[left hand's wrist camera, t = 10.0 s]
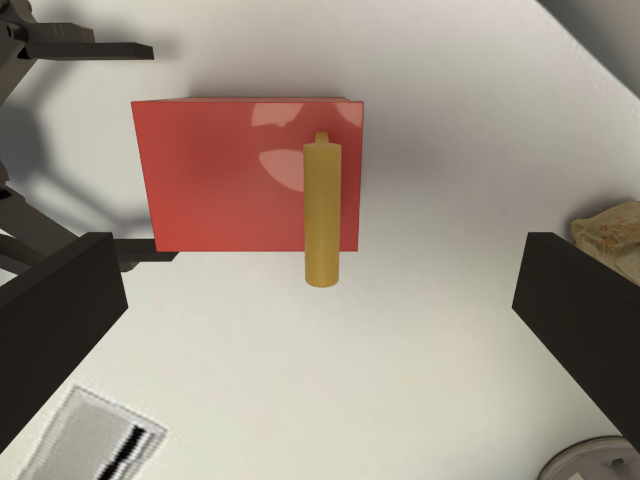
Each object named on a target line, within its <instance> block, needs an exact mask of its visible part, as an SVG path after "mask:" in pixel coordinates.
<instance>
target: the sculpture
mask: <svg viewBox="0 0 640 480" xmlns="http://www.w3.org/2000/svg"><path fill="white" fill-rule="evenodd" d="M571 235H572V236H573V237H574V238H575V240H576V241H574V242H573V243H572V245H574V246H575V247H577V248H578V249H580V250H582V251H583V252H585V253H586V254H588V255H590V256H591V257H593V258H595V259H596V260H598V261H599V262H601V263H603V264H604V265H606V266H607V267H609V268H611V269H612V270H614V271H615V272H617V273H619V274H620V275H622V276H623V277H625V278H627V279H628V280H630V281H632V282H633V283H635V284H636V285H638V286H640V201H633V202H626V203H622V204H619V205H616V206H614V207H611V208H609V209H607V210H605V211H603V212H601V213H599V214H598V215H596V216H594V217H591V218H587V219H582V218H578V219H576V220H574V221H572V222H571Z"/></svg>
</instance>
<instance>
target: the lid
mask: <svg viewBox="0 0 640 480" xmlns="http://www.w3.org/2000/svg"><path fill="white" fill-rule="evenodd" d="M363 106H364V103H363V102H362V101H134V102H131V107H132V112H133V118H134V124H135V130H136V135H137V141H138V147H139V152H140V158H141V164H142V170H143V175H144V181H145V187H146V192H147V198H148V204H149V210H150V215H151V221H152V227H153V232H154V238H155V244H156V250H157V252H225V251H305V280H306V282H307V283H308V284H309V285H311V286H315V287H330V286H333V285H335V284H336V283H337V282H338V280H339V251H358V230H359V205H360V180H361V156H362V131H363Z"/></svg>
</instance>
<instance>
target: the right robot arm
mask: <svg viewBox="0 0 640 480" xmlns="http://www.w3.org/2000/svg"><path fill="white" fill-rule="evenodd" d="M31 12H32V7H31V4H30V2H29V1H28V0H0V106H1V105H2V103H3V102H4V101H5V100H6V98H7V97H8V96H9V95H10V93H11V92H12V91H13V90H14V88H15V87H16V86H17V85H18V83H19V82H20V81H21V80H22V78H23V77H24V76H25V75H26V73H27V72H28V71H29V70H30V68H31V67H32V66H33V64H34V63H35V62H36V61H37V59H47V60H56V61H66V60H154V54H153V48H152V47H150V46H146V45H142V44H138V43H95V38H94V33H93V30H92V29H90V28H87V27H85V26H81V25H77V24H74V23H38V22H37V21H36V20H35V19H34V17H33V16H32V14H31ZM8 180H9V177H8V174H7V171H6V169H5V167H4V165H3V163H2V162H1V160H0V229H2V230H4V231H5V232H7V233H8V234H10V235H12V236H13V237H15V238H13V237H11V236H8V235H4V234H0V268H1V269H4V270H6V271H9V272H12V273H14V274H17V275H20V274H21V273H23V272H25V271H26V270H28V269H29V268H31V267H33V266H34V265H36V264H37V263H39V262H41V261H42V260H44V259H45V258H47V257H49V256H50V255H52V254H54V253H55V252H57V251H58V250H60V249H62V248H63V247H65V246H66V245H68V244H70V243H71V242H73V241H74V240H76V239H78V238H79V237H78V236H76V235H75V234H73V233H72V232H70V231H69V230H67V229H65V228H64V227H62V226H61V225H59V224H58V223H56V222H55V221H53V220H52V219H50V218H48V217H47V216H45V215H44V214H42V213H41V212H39V211H38V210H36V209H34V208H33V207H31V206H30V205H28V204H27V203H26V202H25V198H24V197H23V196H22V195H20V194H19V193H17V192H16V191H14V190H13V189H11V188H10V187H8V186H6V181H8ZM113 240H114V244H115V249H116V253H117V258H118V262H119V267H120V272H128V271H130V270H132V269H133V268H134V267H135V266H136V265H137V264H138V263H139V262H166V261H172V260H173V259H174V258H175V257H176V255H177V254H178V253H179V252H157V250H156V244H155V239H113Z"/></svg>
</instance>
